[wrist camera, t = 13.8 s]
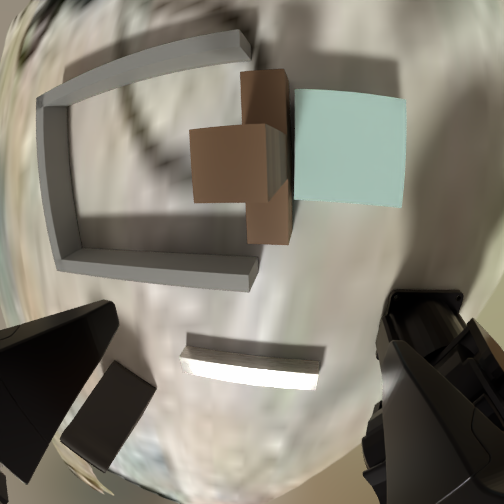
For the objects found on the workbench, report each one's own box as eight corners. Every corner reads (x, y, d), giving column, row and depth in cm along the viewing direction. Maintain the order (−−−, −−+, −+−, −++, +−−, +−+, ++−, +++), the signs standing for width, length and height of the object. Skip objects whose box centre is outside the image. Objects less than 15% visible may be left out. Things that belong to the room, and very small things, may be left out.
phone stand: (115, 359, 29) (57, 428, 18) (157, 388, 29) (108, 466, 18) (106, 391, 32) (62, 449, 21) (142, 415, 32) (102, 478, 21)
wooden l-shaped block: (288, 80, 15) (259, 14, 6) (292, 230, 19) (269, 311, 10) (251, 82, 16) (187, 26, 7) (257, 229, 19) (205, 305, 10)
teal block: (389, 107, 15) (405, 99, 12) (386, 196, 17) (401, 208, 14) (298, 99, 16) (294, 88, 13) (297, 189, 18) (294, 199, 15)
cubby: (250, 45, 15) (239, 29, 12) (258, 272, 20) (249, 292, 18) (59, 98, 19) (36, 97, 16) (77, 258, 24) (57, 270, 22)
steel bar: (319, 358, 23) (318, 374, 21) (316, 374, 23) (315, 390, 21) (187, 343, 25) (178, 356, 23) (190, 358, 26) (182, 372, 24)
